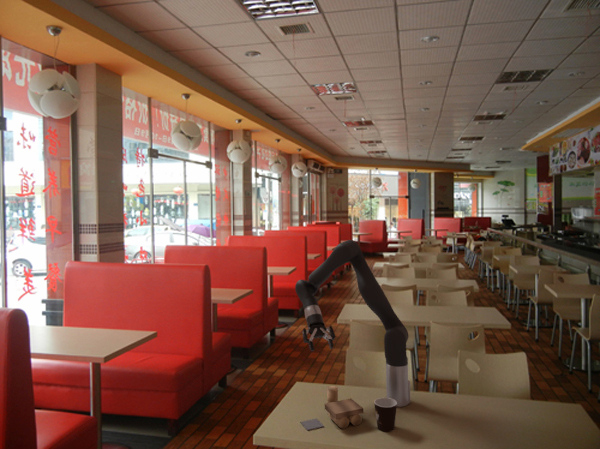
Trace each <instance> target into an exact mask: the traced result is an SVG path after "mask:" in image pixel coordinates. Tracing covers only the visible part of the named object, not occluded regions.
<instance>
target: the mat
mask: <svg viewBox="0 0 600 449" xmlns="http://www.w3.org/2000/svg"><path fill="white" fill-rule="evenodd" d="M300 424H301V425H302V427H304V429H305V430H306V431H312V430H317V429H320V428H324V427H325V425H324V424H323V423H322V422H320V420H319V419H317V417H315V418H311V419H308V420H304V421H303V420H302V421H300Z"/></svg>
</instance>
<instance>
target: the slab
mask: <svg viewBox="0 0 600 449" xmlns="http://www.w3.org/2000/svg"><path fill="white" fill-rule="evenodd" d="M324 410H326V411H327V416H328V417H329V419H331V421H333V422H334V423H335V424H336V425H337V426H338V427H339V428H341V429H343V430H344V429H345V430H346V429H347V428H348V427H349V424H350V423H351V424H352V425H353V426H355V427H356V426H357V427H358V426H359V425H361V423H362V420H363V417H362V416H361V414H364V407H363V406H361V405H360V404H359V403H358V402H357V401H355V400H354V399H352V398H347V399H342V400H338V401H336V402H331V403H326V402H325V403H324Z"/></svg>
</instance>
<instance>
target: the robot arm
mask: <svg viewBox="0 0 600 449" xmlns="http://www.w3.org/2000/svg"><path fill="white" fill-rule="evenodd" d="M347 263H348V264H349V263H350V265H351V266H352V268H353V270H354V272H355V275H356V276H355V277H356V282H357V288H358V292H359V294H360V296H361V298H362V299H363V300H364V302H365V304H366V306H367V307H368V308H369V309H370V310H371V311H372V313H374V314H375V315H376V316H377V317H378V319H379V320H380V322H381V324H382V325H383V328H384V329H385V333H384V337H383V344H384V345H383V346H384V349H383V350H384V357H385V375H386V376H385V379H386V380H385V381H386V382H385V383H386V384H385V385H386V392H385V393H386V398H391V399H394V400H395V401H396V402H397V408H400V407H401V408H402V407H406V406H408V405H410V404H411V381H410V380H409V366H408V365H409V358H408V356H407V342H408V340H409V332H408V330H407V328H406V327H405V325H404V323H403V322H402V321H401V319H400V318H399V316H398V315H397V314H396V313H395V311H394V309H393V306H392V305H391V303H390V302H389V299H388V298H387V295H386V294H385V291H384V290H383V289H382V287H381V285H380V283H379V282H378V280H377V278H376V276H375V275H374V274H373V272H372V269H371V267H370V266H369V264H368V262H367V260H366V258H365V256H364V254H363V251H362V249H361V247H360V246H359V244H358V243H357V242H356V241H355V240H353V239H347V240H345V241H343V242H340V243H339V244H337V245H336V246H335V247H334V249H333V250H332V252H331V253H330V254H329V256H328V257H327V258H326V259H325V260H324V261H323V262H322V263H321V264H320V265H319V266H318V267H316V269H315V270H313V271H312V272H311V273H310V274H309V276H308V280H305V279H299V280H297V281H296V283H295V286H294V287H295V294H296V295H297V296H298V299H299V301H300V302H301V303H302V306H303V311H304V317H305V322H306V323H307V324H306V325H307V329H306V328H302V332H301V335H302V339H303V343H304V344H306V343H307V344H308V346H309V350H310V351H311V352H315V346H314V341H313V340H314V338H315V339H322V338H323V339H324V340H326V341H327V343H328V346H329V349H330V350H333V348H334V342H333V341H334V340H335V338H336V337H337V336H336V333H335V331H334V328H333V326H332V325H329V326H328V327H326V326H325V322H324V317H323V315H322V310H321V308H320V306H319V302H318V298H317V297H316V296H314V295H316V294H317V292H318V291H319V289H320V287H321V285H322V284H324V283H325V282H326V281H327V280H328V279H330V277H331V276H332V275H333V273H334V272H335V271H336V270H337V269H338V268H339V267H342V266H344V265H345V264H347ZM308 334H310V335H311V336H310V337H309V338H308Z"/></svg>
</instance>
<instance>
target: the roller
mask: <svg viewBox="0 0 600 449" xmlns="http://www.w3.org/2000/svg"><path fill="white" fill-rule="evenodd" d="M338 392H339V388H338V387H337V386H335V385H330V386H327V388H326V395H327V396H326V398H327V399H326V401H327V403H331V402H336V401H339V393H338Z"/></svg>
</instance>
